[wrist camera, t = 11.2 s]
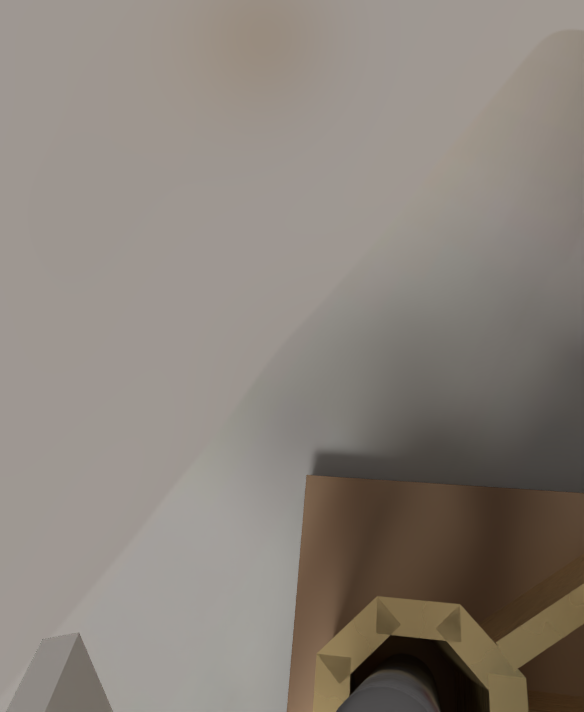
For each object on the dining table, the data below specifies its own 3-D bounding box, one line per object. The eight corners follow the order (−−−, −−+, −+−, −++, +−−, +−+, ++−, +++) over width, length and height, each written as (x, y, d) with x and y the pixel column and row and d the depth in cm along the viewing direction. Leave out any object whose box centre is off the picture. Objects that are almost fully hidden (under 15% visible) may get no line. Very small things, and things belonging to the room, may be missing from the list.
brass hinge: (653, 546, 22) (764, 518, 16) (701, 822, 19) (871, 926, 12) (338, 522, 24) (327, 488, 18) (324, 766, 21) (304, 831, 14)
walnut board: (644, 504, 24) (660, 498, 23) (732, 1010, 18) (761, 1042, 16) (309, 482, 27) (306, 475, 25) (274, 921, 20) (267, 942, 19)
